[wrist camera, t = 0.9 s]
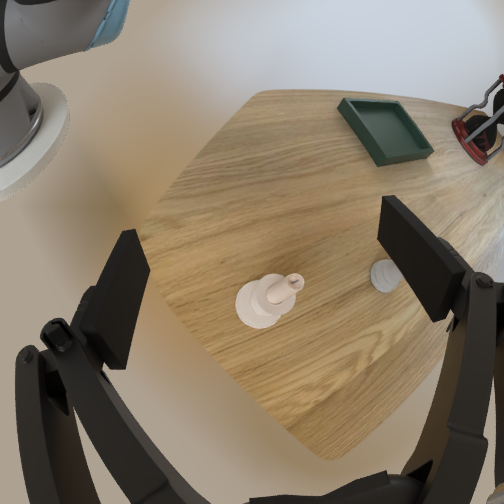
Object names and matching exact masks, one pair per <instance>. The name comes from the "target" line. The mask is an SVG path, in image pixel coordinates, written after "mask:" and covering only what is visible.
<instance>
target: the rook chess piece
mask: <svg viewBox="0 0 504 504" xmlns="http://www.w3.org/2000/svg"><path fill="white" fill-rule="evenodd" d="M370 277H371V281H372V283H373V285H374V287H375V288H376V289H377V290H379V291H380V292H383V293H388V292H390V291H392V290H394V289H395V288H396V287H397V286H398V285H399V283H400V282H401V280H402V279H404V276H403V275H402V273H401V272H400V271H399V269H398V268H397V266H396V265H395V263H394V262H393V260H388V259H385V260H381V261H377V262H376V263H374V264H373V266H372V268H371V275H370Z"/></svg>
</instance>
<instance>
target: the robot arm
mask: <svg viewBox="0 0 504 504" xmlns="http://www.w3.org/2000/svg"><path fill="white" fill-rule="evenodd" d="M129 1H130V0H0V168H2V167H4V166H5V165H7V164H8V163H10V162H11V161H12V160H14V159H15V158H16V157H17V156H18V155H19V154H20V153H21V152H22V151H23V150H24V149H25V148H26V147H27V146H28V145H29V144H30V143H31V141H32V140H33V139H34V137H35V136H36V134H37V132H38V131H39V129H40V127H41V124H42V121H43V117H44V109H43V105H42V102H41V99H40V97H39V95H38V94H37V93H36V92H35V91H34V90H33V88H32V87H31V86H30V85H29V84H28V83H27V82H26V80H25V79H24V78H23V77H22V76H21V74H20V71H19V70H22V69H24V68H27V67H30V66H32V65H35V64H38V63H42V62H44V61H48V60H51V59H55V58H58V57H62V56H65V55H69V54H73V53H77V52H81V51H87V50H89V49H90V48H94V47H97V46H101V45H105V44H108V43H111V42H112V41H114V40H115V39H116V38H117V37H118V36H119V34H120V33H121V31H122V29H123V26H124V23H125V19H126V15H127V10H128V6H129ZM377 240H378V241H379V242H380V244H381V245H382V246H383V248H384V249H385V251H386V252H387V253H388V255H389V256H390V258H391V259H392V260H393V262H394V263H395V265H396V266H397V268H398V269H399V271H400V272H401V273H402V275H403V276H404V278H405V279H406V281H407V282H408V284H409V285H410V287H411V288H412V290H413V291H414V293H415V295H416V296H417V298H418V299H419V301H420V302H421V304H422V306H423V307H424V309H425V310H426V312H427V314H428V315H429V317H430V319H431V320H432V322H433V323H434V322H437V321H440V320H443V319H446V317H447V315H448V313H449V311H450V309H451V310H452V312H453V313H454V316H453V318H452V320H451V322H450V324H449V326H448V328H447V330H446V332H448V331H449V329H450V332H449V337H448V342H447V347H446V352H445V356H444V361H443V365H442V369H441V374H440V377H439V381H438V385H437V388H436V391H435V395H434V398H433V401H432V405H431V408H430V411H429V414H428V417H427V420H426V423H425V425H424V428H423V431H422V433H421V436H420V439H419V441H418V444H417V446H416V449H415V451H414V453H413V454H412V456H411V458H410V459H409V460H408V462H407V463H406V465H405V467H404V468H403V470H402V472H401V474H400V475H398V474H387V471H386V470H385V471H382V472H379V473H376V474H373V475H370V476H367V477H364V478H360V479H356V480H354V481H352V482H350V483H348V484H346V485H344V486H342V487H340V488H338V489H336V490H334V491H332V492H330V493H328V494H326V495H323V496H299V495H298V496H297V495H277V496H268V497H258V498H250V499H249V500H250V502H247V503H244V504H470V502H471V499H472V496H473V493H474V491H475V488H476V485H477V482H478V480H479V476H480V473H481V470H482V467H483V464H484V460H485V457H486V453H487V448H488V440H487V439H486V438H485V437H484V436H483V432H484V426H485V422H486V417H487V412H488V406H489V401H490V394H491V387H492V380H493V377H494V388H495V404H496V450H495V470H494V472H495V490H494V492H493V494H491V495H490V496H489V497H488V499H487V502H486V504H504V283H497V282H494V281H493V279H492V278H491V277H490V276H488V275H487V274H485V273H481V272H474V270H473V269H472V268H471V267H470V266H469V265H468V263H467V262H466V261H465V260H464V259H463V258H462V257H461V256H460V255H459V253H458V252H457V251H456V250H454V248H453V247H452V246H451V245H450V244H449V242H447V241H445V240H444V239H442V238H441V237H436V236H435V235H434V234H433V233H432V232H431V231H430V230H429V229H428V228H427V227H426V226H425V225H424V224H423V222H422V221H421V220H420V219H419V218H418V217H417V216H416V215H414V214H413V213H412V212H411V211H410V210H409V209H408V208H407V207H406V206H405V205H404V204H403V203H402V202H401V201H400V200H399V199H398V198H397V197H396V196H395V195H390V196H382V205H381V213H380V221H379V229H378V236H377ZM149 273H150V268H149V265H148V263H147V260H146V257H145V255H144V252H143V249H142V246H141V244H140V241H139V238H138V235H137V233H136V230H135V229H131V230H126V231H122V233H121V235H120V237H119V239H118V241H117V243H116V244H115V246H114V248H113V250H112V252H111V255H110V257H109V259H108V261H107V263H106V265H105V267H104V269H103V271H102V273H101V275H100V278H99V280H98V282H97V284H96V286H90V287H89V289H88V290H87V291H86V292H85V293H84V294H83V296H82V299H81V301H80V304H79V305H78V308H77V311H76V312H75V315H74V317H73V319H72V322H71V324H70V326H69V325H68V324H67V322H66V321H65V320H64V319H62V318H55V319H53V320H51V321H49V322H48V323H47V324H46V325H45V326H44V328H43V329H42V331H41V334H40V339H41V340H42V341H43V343H44V344H45V345H46V346H47V348H48V349H47V350H44V351H41V352H39V350H38V349H37V348H36V347H35V346H34V345H28V346H26V347H24V348H23V349H22V350H21V351H20V352H19V353H18V356H17V358H16V368H15V400H16V401H15V402H16V420H17V433H18V442H19V450H20V457H21V463H22V469H23V475H24V480H25V485H26V489H27V494H28V498H29V502H30V504H101V503H100V500H99V498H98V495H97V492H96V489H95V486H94V484H93V481H92V478H91V475H90V471H89V469H88V465H87V462H86V458H85V455H84V451H83V448H82V444H81V440H80V436H79V432H78V427H77V423H76V418H75V414H74V409H75V411H76V413H77V415H78V417H79V419H80V421H81V423H82V425H83V427H84V429H85V431H86V433H87V434H88V436H89V438H90V440H91V442H92V444H93V445H94V447H95V449H96V451H97V452H98V454H99V456H100V457H101V459H102V461H103V462H104V464H105V466H106V467H107V469H108V470H109V472H110V473H111V475H112V476H113V478H114V479H115V481H116V482H117V484H118V485H119V487H120V488H121V490H122V491H123V492H124V494H125V495H126V497H127V498H128V499H129V501H130V503H131V504H211V503H210V502H208V501H207V500H206V499H205V498H204V497H202V496H201V495H200V494H198V493H197V492H196V491H195V490H194V489H193V488H192V487H191V486H190V485H189V484H188V482H186V480H185V479H184V478H183V477H182V476H181V475H180V474H179V473H178V472H177V470H175V468H174V467H173V466H172V465H171V464H170V463H169V461H168V460H167V459H166V458H165V457H164V455H163V454H162V453H161V452H160V451H159V449H158V448H157V447H156V446H155V444H154V443H153V442H152V441H151V439H150V438H149V437H148V435H147V434H146V433H145V432H144V430H143V429H142V427H141V426H140V425H139V423H138V422H137V421H136V419H135V418H134V417H133V415H132V414H131V412H130V411H129V409H128V408H127V407H126V405H125V403H124V402H123V400H122V399H121V397H120V396H119V395H118V393H117V391H116V390H115V388H114V386H113V385H112V383H111V382H110V380H109V378H108V377H107V376H106V374H105V372H104V371H103V370H102V367H103V364H104V362H105V364H106V365H107V366H108V367H109V369H111V370H114V369H115V370H125V369H126V365H127V360H128V356H129V351H130V347H131V342H132V338H133V334H134V330H135V325H136V321H137V317H138V314H139V310H140V305H141V302H142V298H143V294H144V291H145V287H146V283H147V280H148V277H149ZM73 407H74V409H73Z"/></svg>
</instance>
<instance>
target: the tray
mask: <svg viewBox="0 0 504 504" xmlns="http://www.w3.org/2000/svg"><path fill="white" fill-rule="evenodd" d="M337 109H338V110H339V111H340V113H341V114H342V115H343V117H344V118H345V119H346V121H347V122H348V123H349V125H350V126H351V128H352V129H353V131H354V132H355V133H356V135H357V136H358V138H359V139H360V141H361V142H362V144H363V145H364V147H365V148H366V150H367V151H368V153H369V154H370V156H371V157H372V159H373V160H374V162H375V164H376V165H377V167H380V166H385V165H390V164H396V163H401V162H406V161H412V160H418V159H424V158H427V157H428V156H429V155H430V154H432V153H433V152H434V150H433V148H432V147H431V145H430V144H429V142H428V141H427V139H426V138H425V137H424V135H423V134H422V132H421V131H420V129H419V128H418V127H417V125H416V124H415V123H414V121H413V120H412V118H411V117H410V116H409V115H408V113H407V112H406V111H405V109H404V108H403V107H402V106H401V104H400V103H399V102H398V101H390V100H377V99H360V98H343V100H342V101H341V103H340V104H339V106H338V107H337Z"/></svg>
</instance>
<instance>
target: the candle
mask: <svg viewBox="0 0 504 504" xmlns="http://www.w3.org/2000/svg"><path fill="white" fill-rule="evenodd" d="M304 285H305V281H304V278H303V277H302V276H301V275H299V274H297V273H293V274H290V275H288V276H286V277H284V276H283V275H280V274H269V275H266V276H264V277H263V278H262V279H261V280H254V281H251V282H248V283H247V284H245V285H244V286H243V287H242V288H241V289H240V290H239V292H238V294H237V296H236V300H235V308H236V311H237V314H238V316H239V318H240V319H241V320H242V321H243V322H244V323H245V324H246V325H248V326H250V327H252V328H256V329H264V328H267V327H270V326H272V325H273V324H275V323H276V322H277V321H278V320H279V319H280V317H281V315H283V314H286V313H287V312H289V311H290V310H291V309H292V307H293V306H294V303H295V300H296V293H297V292H298V291H300V290H301V289H303V287H304Z"/></svg>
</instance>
